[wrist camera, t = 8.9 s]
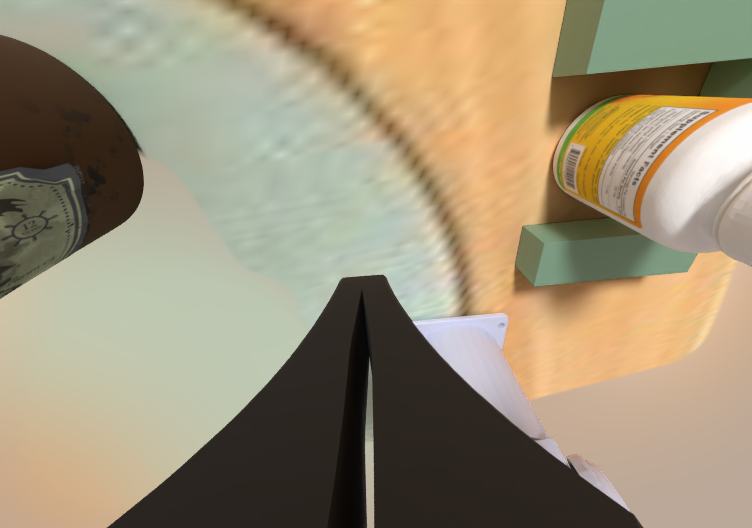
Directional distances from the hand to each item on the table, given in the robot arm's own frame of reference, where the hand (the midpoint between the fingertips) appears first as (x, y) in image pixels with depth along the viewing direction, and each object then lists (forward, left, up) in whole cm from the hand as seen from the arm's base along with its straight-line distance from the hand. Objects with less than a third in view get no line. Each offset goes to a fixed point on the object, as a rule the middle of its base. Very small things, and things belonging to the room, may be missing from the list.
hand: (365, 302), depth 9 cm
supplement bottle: (+2, -13, -10) cm, 17 cm away
